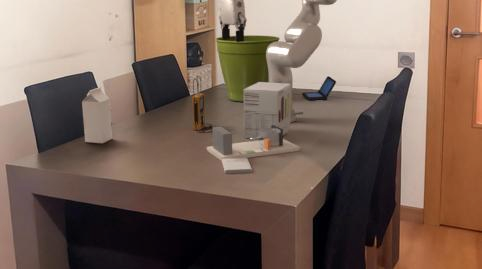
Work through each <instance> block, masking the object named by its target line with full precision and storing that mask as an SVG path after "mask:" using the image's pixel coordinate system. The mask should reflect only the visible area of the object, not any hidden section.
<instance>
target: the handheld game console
mask: <svg viewBox="0 0 482 269" xmlns="http://www.w3.org/2000/svg"><path fill="white" fill-rule="evenodd" d="M336 84H337V81H336V80H335V79H333V78H332V77H330V76H327V77H326V78H325V79H324V81H323V83H322V85H321V87H320V88H319V89H318V90H317V91H306V92H301V96H302V95H303V96H304V97H303V96H302V97H303V98H305V100H306V101H308V102H317V101H316V100H323V101H328V97H329V95H330V93H331V92H332V90H333V88H334V87H335V85H336Z"/></svg>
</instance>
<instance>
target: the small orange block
mask: <svg viewBox="0 0 482 269" xmlns="http://www.w3.org/2000/svg"><path fill="white" fill-rule="evenodd" d="M264 148H266V149H271V140H269V139H267V138H266V139H264Z"/></svg>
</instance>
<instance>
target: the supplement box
mask: <svg viewBox="0 0 482 269" xmlns="http://www.w3.org/2000/svg"><path fill="white" fill-rule="evenodd" d="M243 91H244V102H243V138H244V139H250V138H256V137H259V130H264V129H271V125H275V126H277V127H279V128H281V129H283V136H285V135H286V134H287V133H288V132H290V131H291V122H290V107H291V84H285V83H268V82H258V83H256V84H253V85H251V86H249V87H247V88H246V89H244V90H243Z"/></svg>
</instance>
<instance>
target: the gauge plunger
mask: <svg viewBox="0 0 482 269" xmlns="http://www.w3.org/2000/svg"><path fill="white" fill-rule="evenodd" d="M266 138H267V139H269V140H271V148H272V147H273V146H279V145H280V146H282V145H283V139H284V135H283V129H281V128H279V127H277V126H275V125H271V129H264V130H259V137H256V138H248V139H249V142H253V141H259V143H260V144H262V145H263V146H264V139H266Z"/></svg>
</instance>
